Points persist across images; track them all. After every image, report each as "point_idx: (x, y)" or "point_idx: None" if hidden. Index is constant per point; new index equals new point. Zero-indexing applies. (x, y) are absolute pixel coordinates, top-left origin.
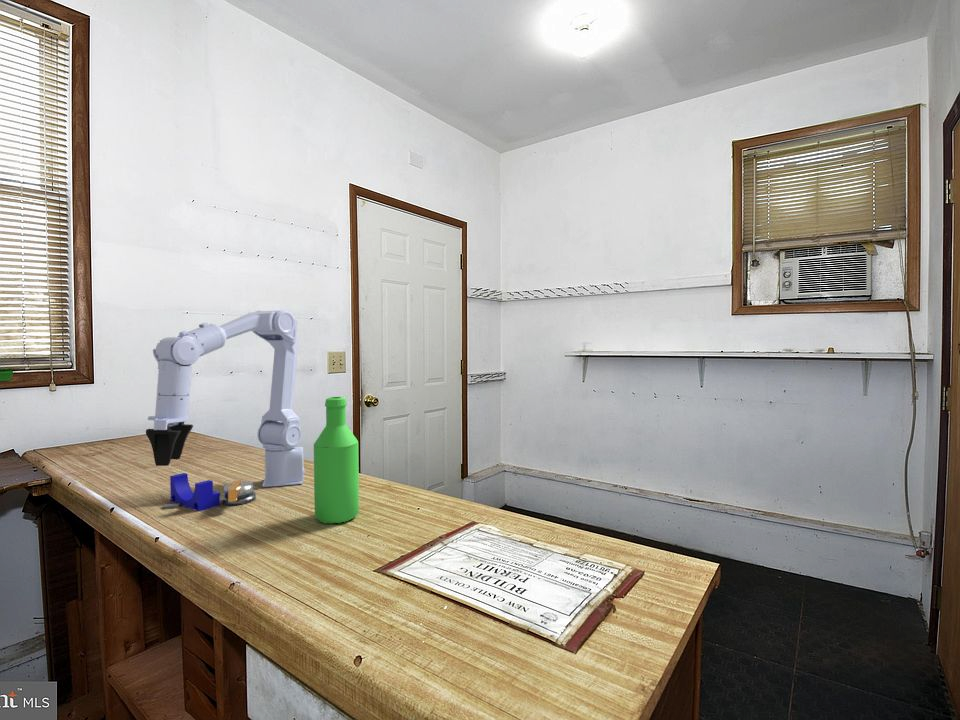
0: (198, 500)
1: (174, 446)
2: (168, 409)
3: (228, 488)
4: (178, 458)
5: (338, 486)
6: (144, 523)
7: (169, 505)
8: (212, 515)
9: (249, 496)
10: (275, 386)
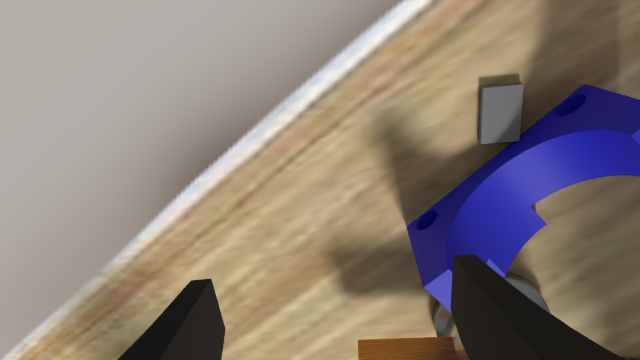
0: (416, 244)
1: (495, 357)
2: None
3: None
4: (453, 311)
5: None
6: (322, 86)
7: (496, 111)
8: (352, 273)
9: None
10: None
